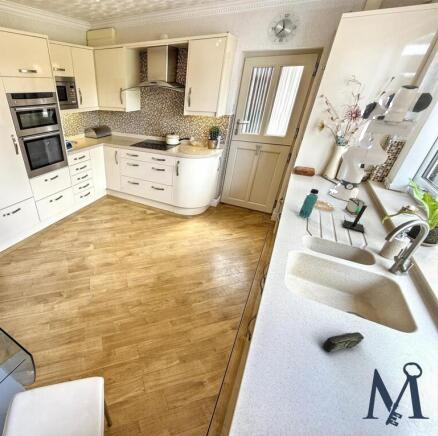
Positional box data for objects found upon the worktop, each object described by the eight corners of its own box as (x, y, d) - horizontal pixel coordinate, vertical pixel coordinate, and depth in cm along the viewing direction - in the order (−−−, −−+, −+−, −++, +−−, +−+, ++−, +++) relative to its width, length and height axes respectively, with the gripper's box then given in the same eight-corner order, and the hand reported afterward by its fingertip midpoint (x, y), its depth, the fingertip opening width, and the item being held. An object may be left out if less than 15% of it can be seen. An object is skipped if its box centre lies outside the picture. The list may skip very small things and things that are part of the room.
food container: (362, 219, 156) (370, 206, 151) (352, 218, 157) (360, 204, 152) (352, 210, 167) (359, 198, 162) (343, 209, 168) (349, 197, 162)
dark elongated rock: (334, 345, 73) (371, 335, 76) (325, 337, 75) (361, 327, 78) (327, 354, 75) (363, 344, 78) (319, 345, 78) (354, 336, 81)
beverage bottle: (308, 216, 157) (320, 188, 147) (309, 220, 151) (322, 192, 141) (297, 213, 159) (308, 186, 149) (298, 218, 154) (310, 190, 144)
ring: (310, 200, 179) (311, 198, 177) (331, 206, 172) (333, 203, 171) (309, 207, 169) (310, 204, 167) (331, 213, 162) (333, 210, 161)
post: (342, 221, 153) (354, 200, 145) (362, 226, 148) (374, 205, 140) (343, 227, 145) (355, 206, 138) (363, 233, 141) (377, 211, 133)
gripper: (416, 119, 131) (402, 144, 138) (370, 115, 141) (359, 138, 148) (419, 120, 127) (404, 145, 134) (372, 116, 137) (360, 140, 144)
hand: (380, 142), depth 141 cm, fingers open, 8 cm apart
